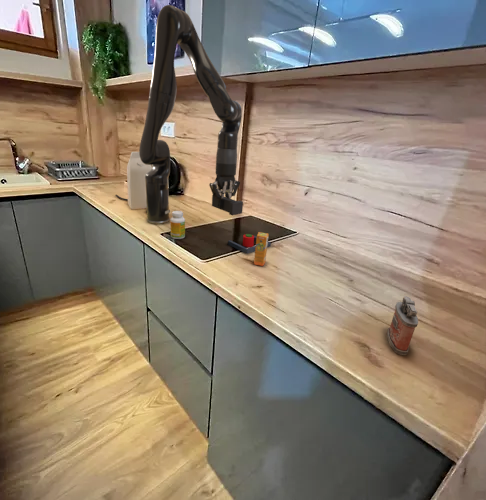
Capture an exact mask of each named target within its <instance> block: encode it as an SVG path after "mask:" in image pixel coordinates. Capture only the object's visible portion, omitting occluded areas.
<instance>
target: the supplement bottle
mask: <svg viewBox="0 0 486 500" xmlns="http://www.w3.org/2000/svg"><path fill="white" fill-rule="evenodd" d="M169 223H170V238H171V239H174V240H181V239H184V238H185V237H186V219H185V217H184V212H183V211H182V210H173V211H172V212H171V217H170V219H169Z"/></svg>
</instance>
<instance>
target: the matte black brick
mask: <svg viewBox="0 0 486 500" xmlns="http://www.w3.org/2000/svg"><path fill="white" fill-rule="evenodd" d="M211 207H213V208H216V209H218V210H221V211H224V212H226V213H228V214H229V216H238V215H241V214H243V207H244V201H243V200H235V199H233V198H231V199H229V198H227V197H225V196H224V205H223V209H220V208H218V198H216V197H214V196H213V194H212V195H211Z"/></svg>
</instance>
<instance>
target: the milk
mask: <svg viewBox="0 0 486 500" xmlns="http://www.w3.org/2000/svg"><path fill="white" fill-rule="evenodd" d="M126 165H127V166H126V182H127V183H126V187H127V199H128V201H127V204H128V206H129V208H130V210H140V209H141V210H143V209H147V204H146V184H145V175H146V173H148V172H149V171H150V170H151V169H152V167H153V166H152V165H146V164H144V163H143V162H142V161H141V159H140V155H139V151H131V153H130V157H129V159H128V162H127V164H126Z"/></svg>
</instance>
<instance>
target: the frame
mask: <svg viewBox="0 0 486 500" xmlns="http://www.w3.org/2000/svg"><path fill="white" fill-rule="evenodd" d="M252 235H253V234H252ZM253 236H254V242H256V239H257V235H253ZM227 245H228V246H230V247H232V248H234V249H236V250H238V251H239V252H242V253H244V254H247V255H248V254H251V253H253V252H254V253H255V248H256V245H254V246H253V247H245V246H243V245H241V244H239V243H237V242H235V241H233V240H231V239H230V240H228V241H227ZM271 246H272V242H270V241H268V244H267V248H270V247H271Z"/></svg>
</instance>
